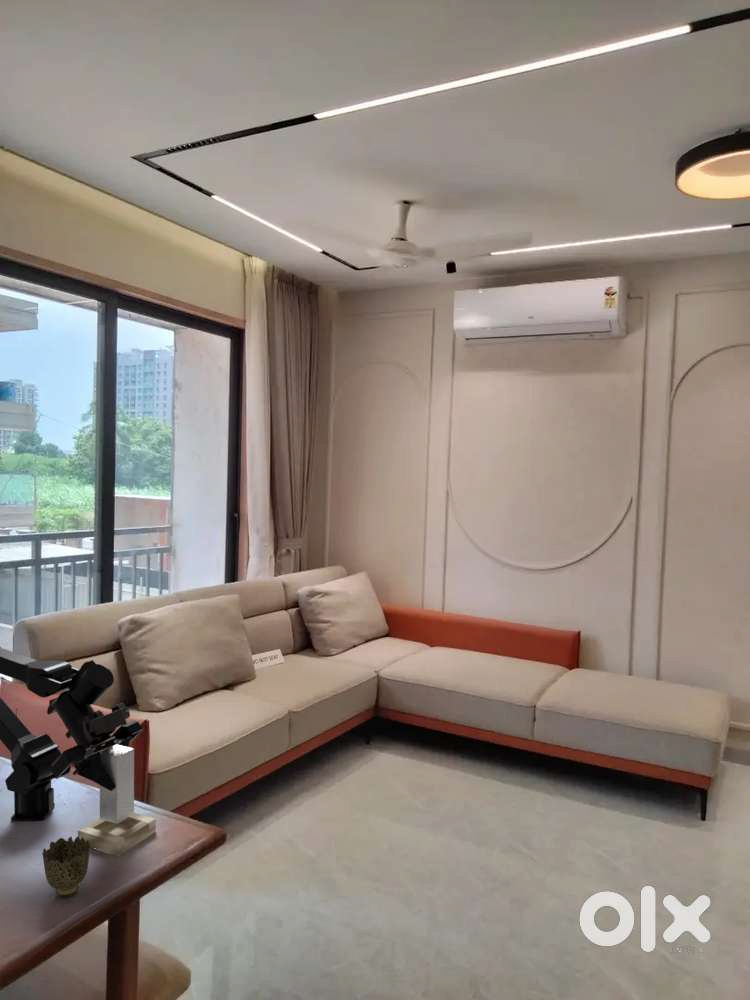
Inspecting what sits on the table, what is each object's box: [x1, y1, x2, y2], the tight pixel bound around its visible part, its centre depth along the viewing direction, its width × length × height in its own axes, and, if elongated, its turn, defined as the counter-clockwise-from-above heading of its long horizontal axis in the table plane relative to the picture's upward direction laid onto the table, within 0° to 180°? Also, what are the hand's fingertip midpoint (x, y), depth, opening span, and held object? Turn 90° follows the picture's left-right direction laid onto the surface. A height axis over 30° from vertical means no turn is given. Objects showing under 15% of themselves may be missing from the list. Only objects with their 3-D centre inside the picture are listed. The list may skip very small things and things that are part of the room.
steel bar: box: [99, 744, 135, 824], centre depth 140 cm, size 4×4×13 cm
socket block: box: [77, 812, 157, 857], centre depth 141 cm, size 10×10×3 cm
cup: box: [41, 836, 91, 899], centre depth 123 cm, size 8×7×8 cm
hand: (122, 784), depth 140 cm, fingers closed on steel bar, 4 cm apart
